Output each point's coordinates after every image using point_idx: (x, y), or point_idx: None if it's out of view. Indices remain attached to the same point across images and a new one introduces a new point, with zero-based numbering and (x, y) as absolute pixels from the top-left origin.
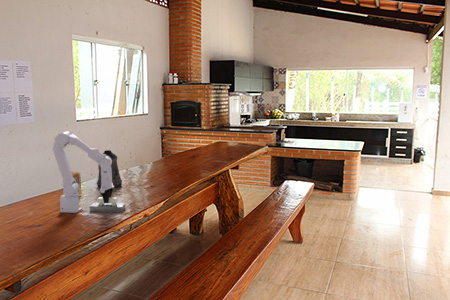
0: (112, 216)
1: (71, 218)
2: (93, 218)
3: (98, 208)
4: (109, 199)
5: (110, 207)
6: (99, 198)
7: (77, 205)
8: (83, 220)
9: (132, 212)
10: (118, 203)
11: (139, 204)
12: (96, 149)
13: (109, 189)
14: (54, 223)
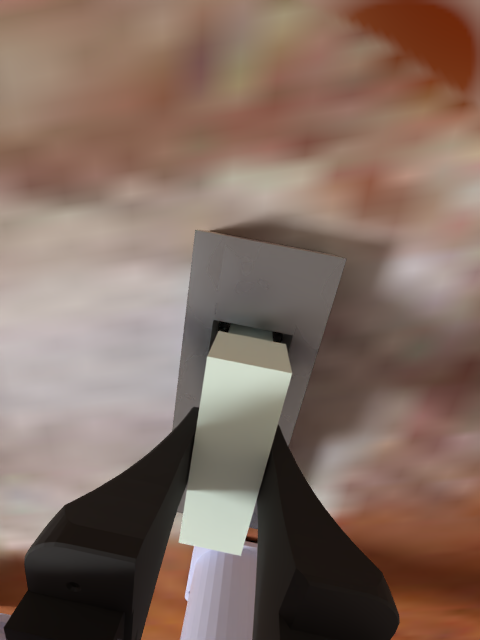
0: (434, 322)
1: (393, 559)
2: (438, 452)
3: None
4: (270, 439)
5: (307, 374)
6: (241, 541)
7: (251, 595)
8: (463, 502)
9: (353, 124)
10: (193, 311)
11: (56, 76)
12: None
13: (138, 598)
14: (461, 614)
